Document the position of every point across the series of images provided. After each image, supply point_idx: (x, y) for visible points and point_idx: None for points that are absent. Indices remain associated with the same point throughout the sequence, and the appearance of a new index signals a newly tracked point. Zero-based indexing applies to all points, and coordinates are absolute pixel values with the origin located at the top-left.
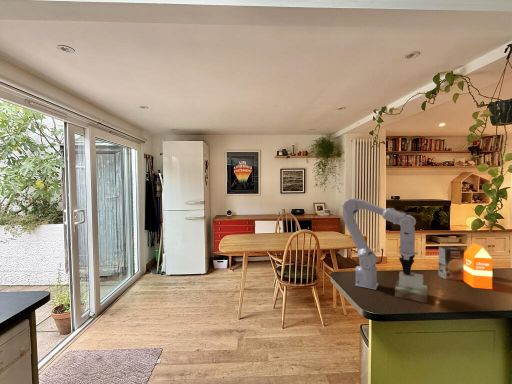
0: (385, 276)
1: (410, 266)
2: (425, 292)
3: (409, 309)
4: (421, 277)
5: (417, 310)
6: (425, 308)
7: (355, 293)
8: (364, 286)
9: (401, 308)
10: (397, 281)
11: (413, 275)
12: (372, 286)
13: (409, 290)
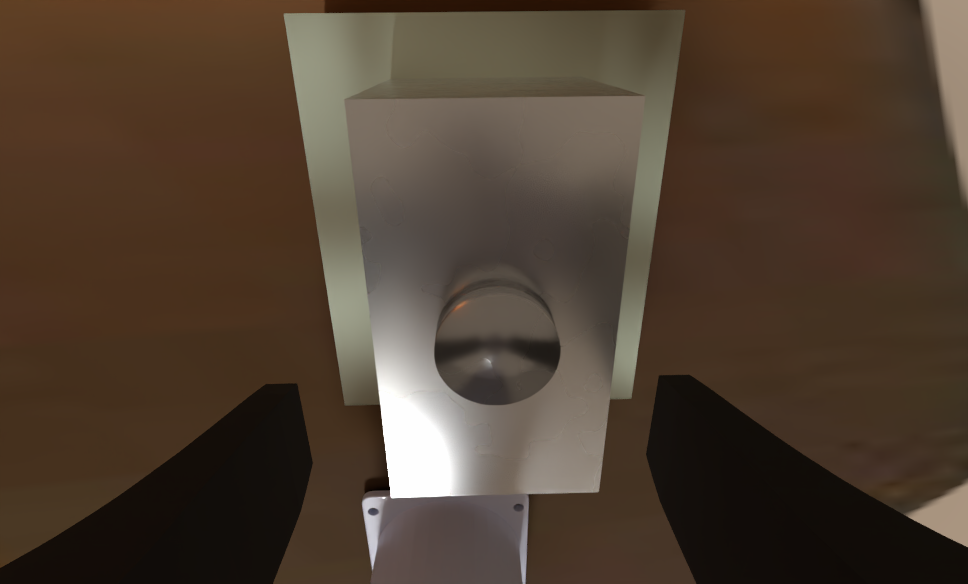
0: (41, 471)
1: (903, 534)
2: (640, 40)
3: (887, 196)
4: (607, 133)
5: (891, 123)
6: (808, 40)
7: (685, 577)
8: (522, 565)
9: (884, 263)
10: (374, 395)
11: (534, 290)
12: (505, 526)
13: (651, 249)
